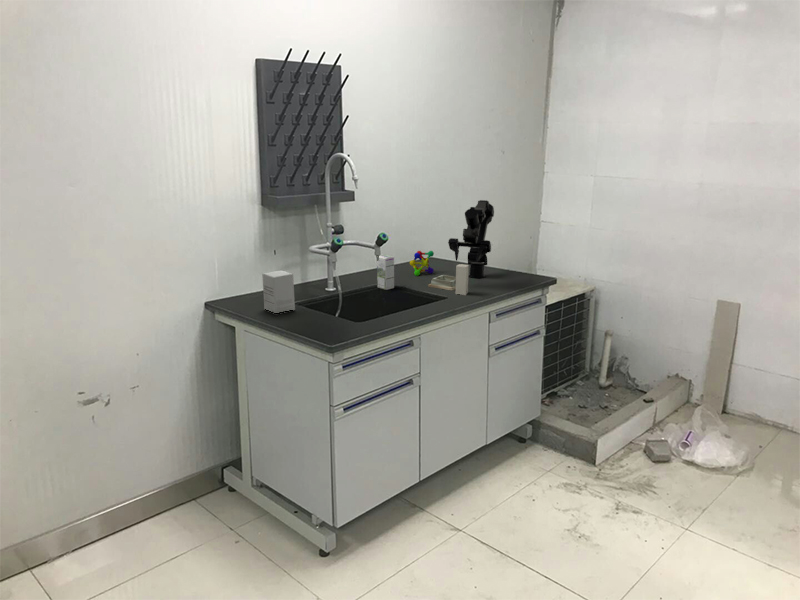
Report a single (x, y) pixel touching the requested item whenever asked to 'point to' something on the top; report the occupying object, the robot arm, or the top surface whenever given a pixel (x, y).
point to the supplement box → (278, 291)
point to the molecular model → (424, 262)
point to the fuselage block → (462, 279)
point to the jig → (443, 282)
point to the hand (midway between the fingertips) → (466, 260)
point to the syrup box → (385, 272)
